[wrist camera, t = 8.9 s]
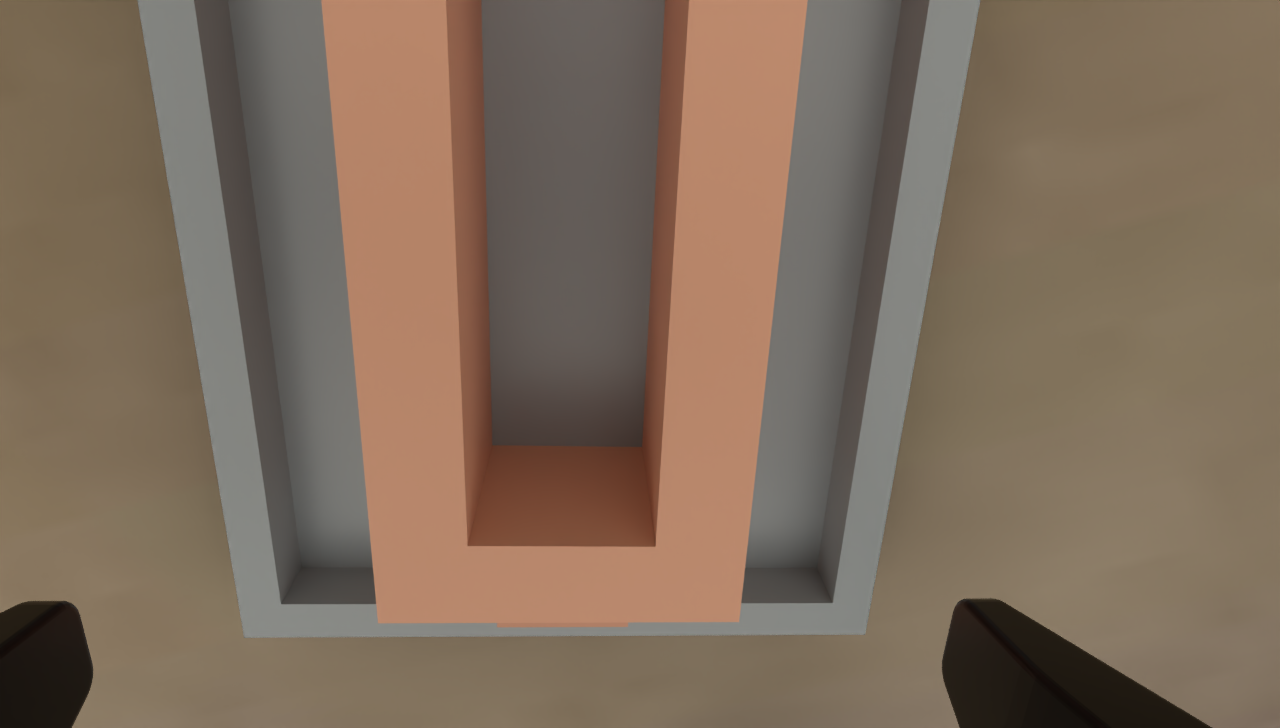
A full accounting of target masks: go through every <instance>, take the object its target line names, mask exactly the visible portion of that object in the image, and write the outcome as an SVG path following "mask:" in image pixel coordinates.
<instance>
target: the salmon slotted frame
mask: <svg viewBox="0 0 1280 728" xmlns="http://www.w3.org/2000/svg"><path fill="white" fill-rule="evenodd" d="M807 2H808V0H665V10H664V29H663V49H662V68H661V88H660V107H659V127H658V147H657V166H656V186H655V205H654V225H653V244H652V264H651V283H650V303H649V322H648V342H647V361H646V381H645V400H644V420H643V439H642V447H596V446H516V445H492V410H491V370H490V329H489V289H488V249H487V208H486V168H485V128H484V87H483V47H482V7H481V0H321V3H322V14H323V25H324V36H325V47H326V57H327V68H328V79H329V90H330V101H331V112H332V123H333V134H334V145H335V156H336V167H337V178H338V189H339V200H340V211H341V222H342V233H343V244H344V255H345V266H346V277H347V288H348V299H349V310H350V321H351V332H352V343H353V354H354V365H355V376H356V387H357V398H358V409H359V420H360V431H361V442H362V453H363V464H364V475H365V486H366V497H367V508H368V519H369V530H370V541H371V552H372V563H373V574H374V585H375V596H376V607H377V618H378V623H497V627H628V623H629V622H739V619H740V610H741V601H742V591H743V582H744V573H745V564H746V555H747V546H748V537H749V528H750V519H751V510H752V501H753V492H754V483H755V474H756V465H757V455H758V446H759V437H760V428H761V419H762V410H763V401H764V392H765V383H766V374H767V365H768V356H769V347H770V338H771V328H772V319H773V310H774V301H775V292H776V283H777V274H778V265H779V256H780V247H781V238H782V229H783V220H784V211H785V201H786V192H787V183H788V174H789V165H790V156H791V147H792V138H793V129H794V120H795V111H796V102H797V93H798V84H799V75H800V65H801V56H802V47H803V38H804V29H805V20H806V11H807Z"/></svg>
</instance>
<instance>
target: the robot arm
mask: <svg viewBox="0 0 1280 728" xmlns="http://www.w3.org/2000/svg"><path fill="white" fill-rule="evenodd" d="M942 673H943V679H944V683H945V686H946V689H947V692H948V695H949V698H950V701H951V704H952V707H953V710H954V712H955V715H956V718H957V721H958V724H959V727H960V728H1212V727H1210V726H1208V725H1207V724H1205V723H1203V722H1202V721H1200V720H1199V719H1197V718H1195V717H1194V716H1192V715H1190V714H1189V713H1187V712H1185V711H1184V710H1182V709H1180V708H1179V707H1177V706H1175V705H1174V704H1172V703H1170V702H1169V701H1167V700H1165V699H1164V698H1162V697H1160V696H1159V695H1157V694H1155V693H1154V692H1152V691H1150V690H1149V689H1147V688H1145V687H1144V686H1142V685H1140V684H1139V683H1137V682H1135V681H1134V680H1132V679H1130V678H1129V677H1127V676H1125V675H1124V674H1122V673H1120V672H1119V671H1117V670H1115V669H1114V668H1112V667H1110V666H1109V665H1107V664H1106V663H1104V662H1102V661H1101V660H1099V659H1097V658H1096V657H1094V656H1092V655H1091V654H1089V653H1087V652H1086V651H1084V650H1082V649H1081V648H1079V647H1077V646H1076V645H1074V644H1072V643H1071V642H1069V641H1067V640H1066V639H1064V638H1062V637H1061V636H1059V635H1057V634H1056V633H1054V632H1052V631H1051V630H1049V629H1047V628H1046V627H1044V626H1042V625H1041V624H1039V623H1037V622H1036V621H1034V620H1032V619H1031V618H1029V617H1027V616H1026V615H1024V614H1022V613H1021V612H1019V611H1018V610H1016V609H1014V608H1013V607H1011V606H1009V605H1008V604H1006V603H1004V602H1002V601H1000V600H997V599H963V600H961V601H959V602H958V603H957V605H956V606H955V609H954V611H953V615H952V620H951V624H950V628H949V633H948V637H947V641H946V646H945V650H944V654H943V660H942ZM92 679H93V665H92V660H91V656H90V652H89V649H88V645H87V641H86V637H85V633H84V629H83V625H82V621H81V617H80V614H79V611H78V609H77V608H76V607H75V606H74V605H73V604H72V603H69V602H67V601H28V602H24V603H21V604H18V605H16V606H14V607H12V608H10V609H8V610H6V611H4V612H2V613H0V728H72V726H73V724H74V722H75V720H76V718H77V716H78V714H79V712H80V710H81V708H82V706H83V704H84V702H85V700H86V698H87V695H88V693H89V691H90V687H91V684H92Z"/></svg>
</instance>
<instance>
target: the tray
mask: <svg viewBox="0 0 1280 728" xmlns="http://www.w3.org/2000/svg"><path fill="white" fill-rule="evenodd" d="M979 5H980V0H808V2H807V11H806V20H805V29H804V38H803V47H802V56H801V65H800V75H799V84H798V93H797V102H796V111H795V120H794V129H793V138H792V147H791V156H790V165H789V174H788V183H787V192H786V201H785V211H784V220H783V229H782V238H781V247H780V256H779V265H778V274H777V283H776V292H775V301H774V310H773V319H772V328H771V338H770V347H769V356H768V365H767V374H766V383H765V392H764V401H763V410H762V419H761V428H760V437H759V446H758V455H757V465H756V474H755V483H754V492H753V501H752V510H751V519H750V528H749V537H748V546H747V555H746V564H745V573H744V582H743V591H742V601H741V610H740V619H739V622H629V623H628V627H497V623H378V618H377V607H376V596H375V585H374V574H373V563H372V552H371V541H370V530H369V519H368V508H367V497H366V486H365V475H364V464H363V453H362V442H361V431H360V420H359V409H358V398H357V387H356V376H355V365H354V354H353V343H352V332H351V321H350V310H349V299H348V288H347V277H346V266H345V255H344V244H343V233H342V222H341V211H340V200H339V189H338V178H337V167H336V156H335V145H334V134H333V123H332V112H331V101H330V90H329V79H328V68H327V57H326V47H325V36H324V25H323V14H322V3H321V0H138V6H139V12H140V18H141V24H142V30H143V36H144V42H145V48H146V54H147V60H148V66H149V72H150V78H151V84H152V90H153V96H154V102H155V108H156V114H157V120H158V126H159V132H160V138H161V144H162V150H163V156H164V162H165V168H166V174H167V179H168V185H169V191H170V197H171V203H172V209H173V215H174V221H175V227H176V233H177V239H178V245H179V251H180V257H181V263H182V269H183V275H184V281H185V287H186V293H187V299H188V305H189V311H190V317H191V323H192V329H193V335H194V341H195V347H196V353H197V359H198V365H199V371H200V377H201V383H202V389H203V395H204V401H205V407H206V412H207V418H208V424H209V430H210V436H211V442H212V448H213V454H214V460H215V466H216V472H217V478H218V484H219V490H220V496H221V502H222V508H223V514H224V520H225V526H226V532H227V538H228V544H229V550H230V556H231V562H232V568H233V574H234V580H235V586H236V592H237V598H238V604H239V610H240V616H241V622H242V628H243V634H244V638H271V637H473V636H676V635H865V633H866V627H867V622H868V616H869V611H870V605H871V600H872V594H873V589H874V583H875V578H876V572H877V567H878V561H879V556H880V550H881V545H882V539H883V534H884V528H885V523H886V517H887V512H888V506H889V501H890V495H891V490H892V484H893V478H894V473H895V467H896V462H897V456H898V451H899V445H900V440H901V434H902V429H903V423H904V418H905V412H906V407H907V401H908V396H909V390H910V385H911V379H912V374H913V368H914V363H915V357H916V352H917V346H918V341H919V335H920V330H921V324H922V319H923V313H924V308H925V302H926V297H927V291H928V286H929V280H930V275H931V269H932V264H933V258H934V253H935V247H936V242H937V236H938V230H939V225H940V219H941V214H942V208H943V203H944V197H945V192H946V186H947V181H948V175H949V170H950V164H951V159H952V153H953V148H954V142H955V137H956V131H957V126H958V120H959V115H960V109H961V104H962V98H963V93H964V87H965V82H966V76H967V71H968V65H969V60H970V54H971V49H972V43H973V38H974V32H975V27H976V21H977V16H978V10H979ZM481 7H482V47H483V87H484V128H485V168H486V208H487V249H488V289H489V329H490V370H491V410H492V445H516V446H596V447H642V439H643V420H644V400H645V381H646V361H647V342H648V322H649V303H650V283H651V264H652V244H653V225H654V205H655V186H656V166H657V147H658V127H659V107H660V88H661V68H662V49H663V29H664V10H665V0H481Z"/></svg>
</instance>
